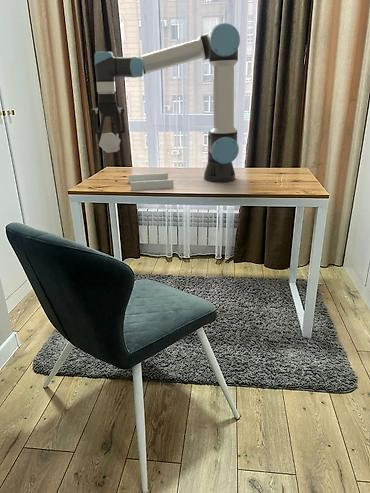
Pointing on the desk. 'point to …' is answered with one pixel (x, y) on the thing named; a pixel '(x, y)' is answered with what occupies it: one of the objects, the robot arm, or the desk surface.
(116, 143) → the die
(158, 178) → the grey u-shaped frame
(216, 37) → the robot arm
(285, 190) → the desk surface
